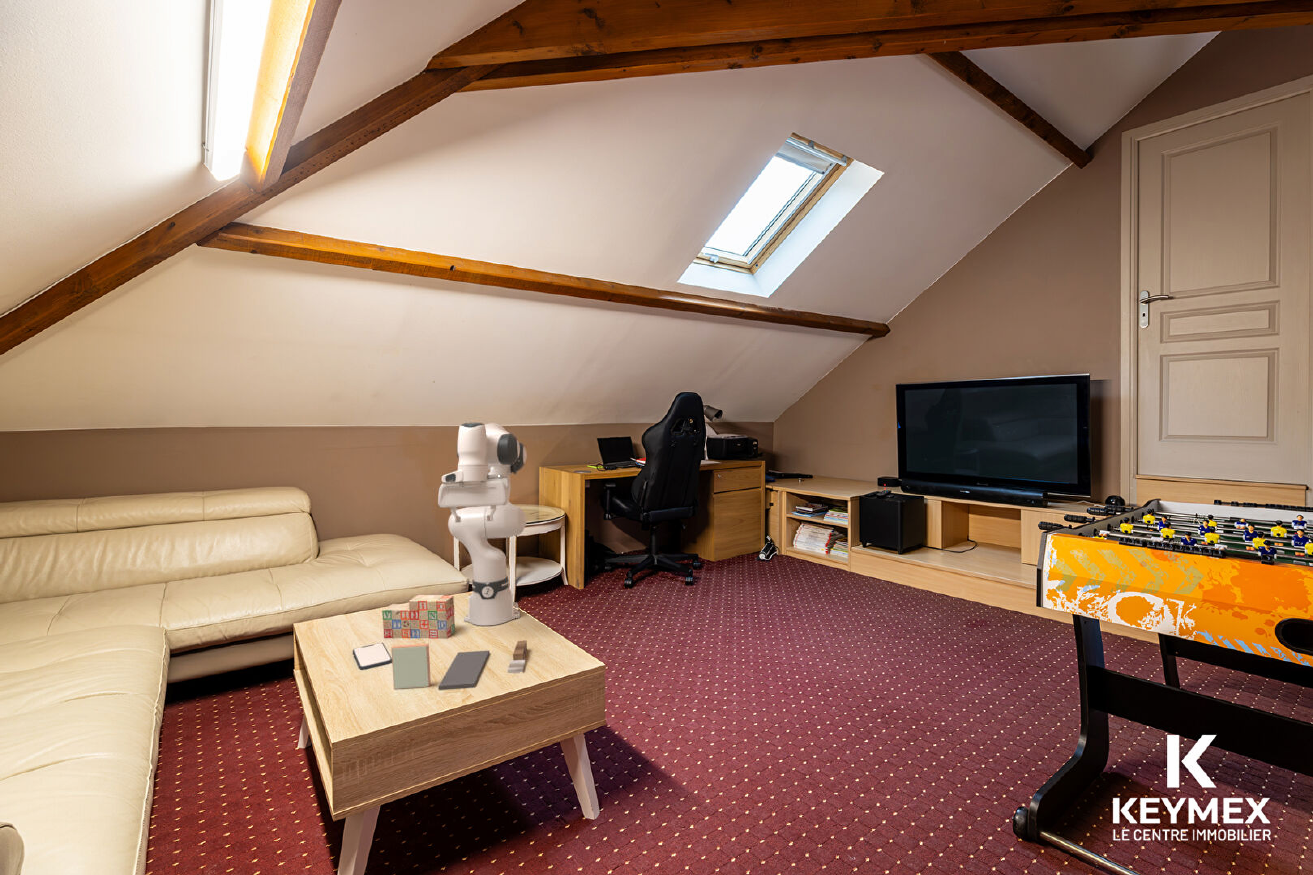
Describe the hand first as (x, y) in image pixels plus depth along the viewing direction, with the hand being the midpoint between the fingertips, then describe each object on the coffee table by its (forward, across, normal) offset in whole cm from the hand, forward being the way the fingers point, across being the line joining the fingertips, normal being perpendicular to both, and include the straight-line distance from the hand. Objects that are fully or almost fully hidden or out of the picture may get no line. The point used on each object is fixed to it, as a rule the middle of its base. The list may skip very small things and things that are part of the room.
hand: (473, 521), depth 187 cm
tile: (+41, +12, +21) cm, 48 cm away
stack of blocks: (+37, +22, -18) cm, 46 cm away
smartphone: (+39, +30, -1) cm, 50 cm away
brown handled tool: (+40, -14, +9) cm, 43 cm away
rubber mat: (+40, 0, +13) cm, 42 cm away
